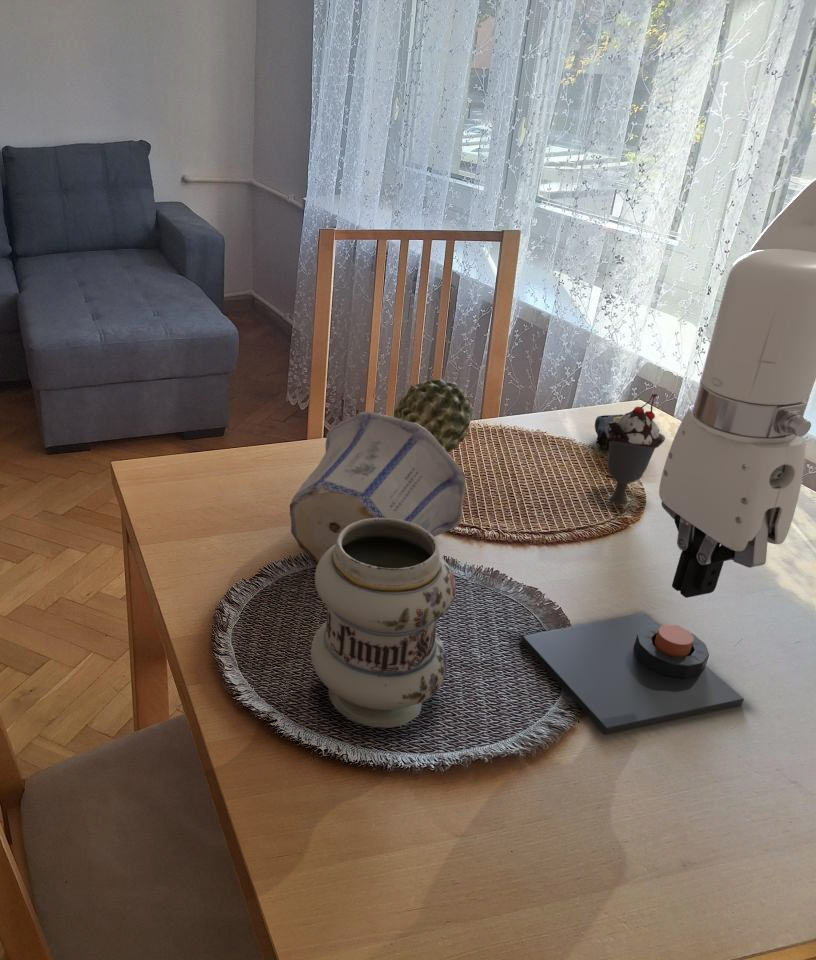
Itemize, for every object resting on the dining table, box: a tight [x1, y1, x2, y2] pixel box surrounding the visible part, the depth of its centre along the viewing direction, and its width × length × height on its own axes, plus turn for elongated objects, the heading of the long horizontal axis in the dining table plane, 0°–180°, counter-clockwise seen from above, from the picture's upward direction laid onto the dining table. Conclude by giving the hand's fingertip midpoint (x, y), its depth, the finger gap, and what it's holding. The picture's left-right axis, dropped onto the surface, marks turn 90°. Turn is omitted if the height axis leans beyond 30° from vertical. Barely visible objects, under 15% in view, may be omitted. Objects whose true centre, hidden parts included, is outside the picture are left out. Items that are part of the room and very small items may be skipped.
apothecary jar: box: [310, 518, 457, 729], centre depth 76 cm, size 12×12×18 cm
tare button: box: [654, 624, 694, 657], centre depth 81 cm, size 3×3×2 cm
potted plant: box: [289, 378, 473, 564], centre depth 102 cm, size 18×18×30 cm
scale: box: [520, 612, 745, 736], centre depth 81 cm, size 14×13×3 cm
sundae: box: [605, 393, 666, 505], centre depth 106 cm, size 7×7×15 cm
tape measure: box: [594, 414, 624, 450], centre depth 123 cm, size 7×7×4 cm
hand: (692, 589), depth 79 cm, fingers closed
